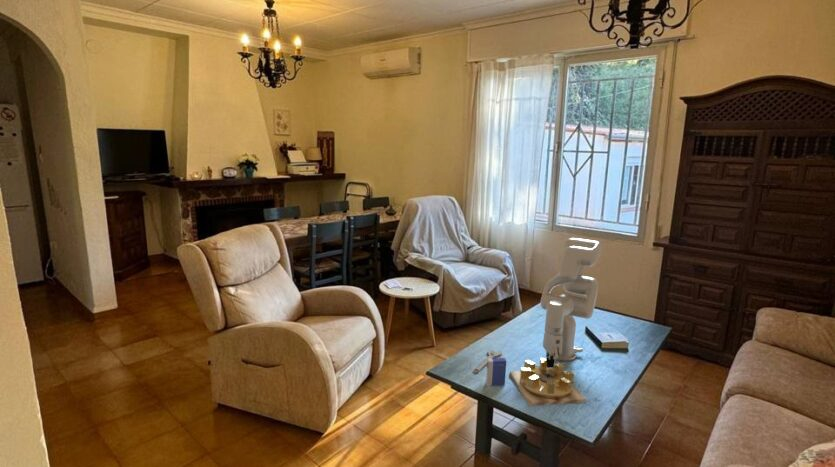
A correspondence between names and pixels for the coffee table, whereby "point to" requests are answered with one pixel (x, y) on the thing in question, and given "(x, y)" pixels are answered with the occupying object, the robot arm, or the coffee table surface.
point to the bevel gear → (546, 380)
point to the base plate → (536, 400)
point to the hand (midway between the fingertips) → (549, 366)
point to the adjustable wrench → (484, 362)
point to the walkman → (496, 371)
